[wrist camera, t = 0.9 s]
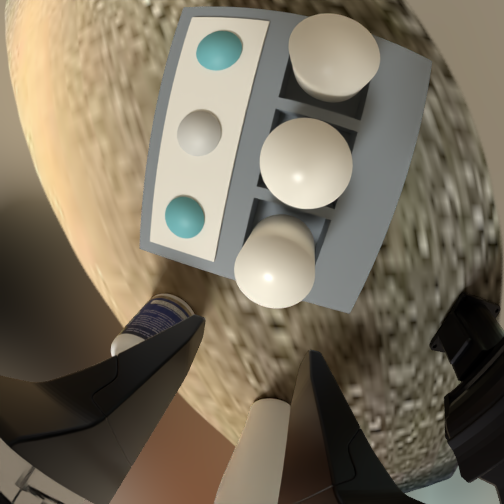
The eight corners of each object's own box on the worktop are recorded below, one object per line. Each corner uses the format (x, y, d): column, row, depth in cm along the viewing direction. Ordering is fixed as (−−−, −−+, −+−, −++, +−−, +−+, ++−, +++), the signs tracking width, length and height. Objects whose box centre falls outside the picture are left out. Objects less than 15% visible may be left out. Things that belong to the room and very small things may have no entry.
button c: (323, 225, 16) (326, 250, 12) (303, 282, 17) (300, 316, 14) (258, 206, 16) (243, 225, 13) (243, 264, 18) (227, 295, 14)
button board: (415, 70, 13) (434, 59, 10) (345, 291, 21) (350, 316, 18) (200, 21, 14) (181, 5, 11) (158, 235, 22) (137, 250, 19)
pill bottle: (147, 285, 24) (85, 349, 16) (198, 299, 24) (147, 378, 15) (151, 327, 27) (102, 392, 18) (197, 342, 26) (157, 417, 17)
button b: (350, 136, 13) (363, 134, 10) (330, 201, 15) (336, 220, 12) (280, 116, 14) (271, 107, 10) (263, 182, 15) (250, 194, 12)
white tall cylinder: (311, 402, 27) (295, 523, 13) (287, 426, 30) (267, 527, 16) (255, 385, 27) (218, 509, 14) (238, 411, 30) (204, 513, 16)
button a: (369, 52, 11) (385, 29, 7) (356, 111, 13) (371, 103, 9) (301, 33, 11) (298, 5, 8) (286, 91, 13) (279, 76, 10)
